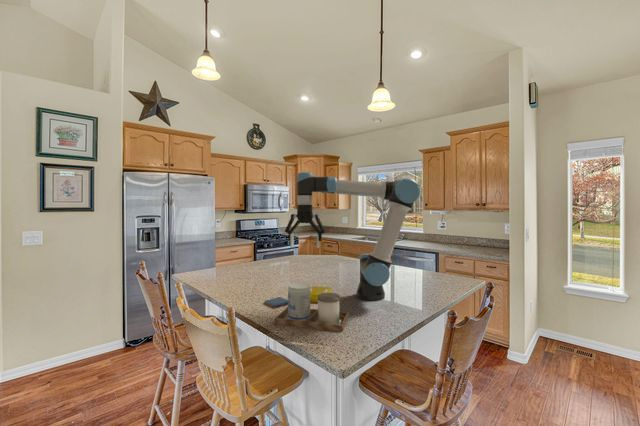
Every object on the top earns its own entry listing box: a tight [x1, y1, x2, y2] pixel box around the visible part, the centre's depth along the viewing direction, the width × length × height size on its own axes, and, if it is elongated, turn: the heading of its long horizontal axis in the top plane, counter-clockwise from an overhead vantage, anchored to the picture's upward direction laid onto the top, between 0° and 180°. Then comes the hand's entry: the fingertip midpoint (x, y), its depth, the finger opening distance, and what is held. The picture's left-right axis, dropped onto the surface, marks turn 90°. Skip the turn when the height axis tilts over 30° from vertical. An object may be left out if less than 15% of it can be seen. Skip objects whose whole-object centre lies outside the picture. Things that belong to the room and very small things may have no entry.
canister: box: [317, 292, 341, 324], centre depth 125 cm, size 9×9×11 cm
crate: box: [274, 306, 350, 332], centre depth 127 cm, size 28×15×3 cm, turn 75°
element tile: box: [310, 285, 333, 304], centre depth 160 cm, size 15×15×5 cm
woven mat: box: [263, 296, 288, 309], centre depth 151 cm, size 10×11×2 cm
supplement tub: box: [287, 282, 311, 321], centre depth 129 cm, size 10×10×15 cm
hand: (304, 247), depth 148 cm, fingers open, 13 cm apart
